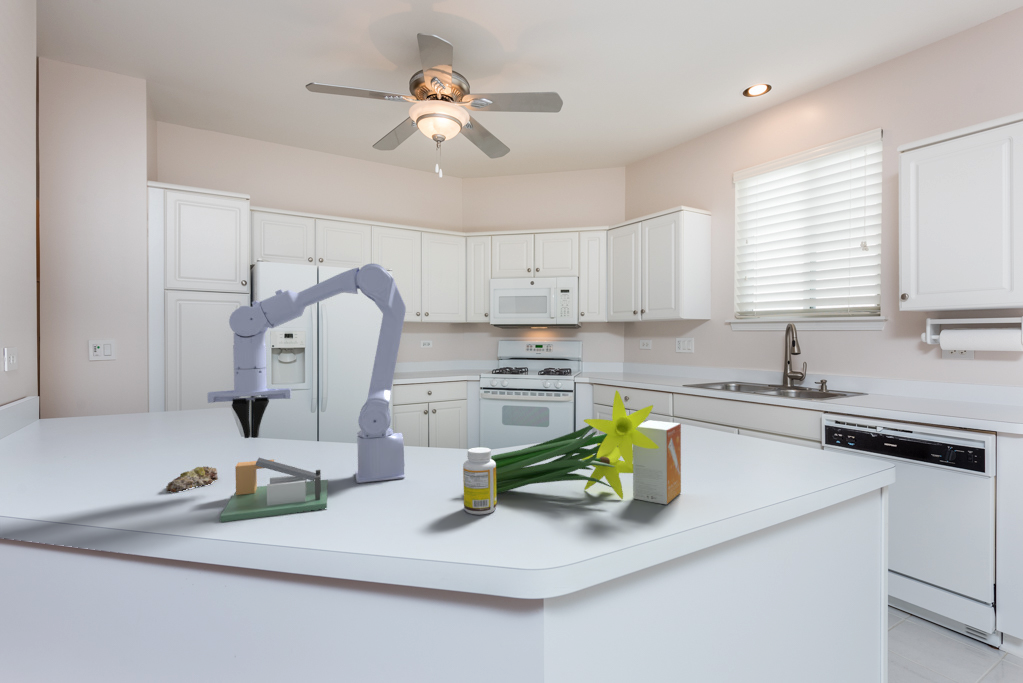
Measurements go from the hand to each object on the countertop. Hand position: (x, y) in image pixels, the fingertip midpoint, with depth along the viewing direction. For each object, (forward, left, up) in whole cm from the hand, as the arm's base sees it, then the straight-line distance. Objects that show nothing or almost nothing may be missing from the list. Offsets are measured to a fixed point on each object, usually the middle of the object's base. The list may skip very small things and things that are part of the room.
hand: (251, 436), depth 98 cm
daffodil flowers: (-54, +28, -10) cm, 61 cm away
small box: (-71, +34, -10) cm, 79 cm away
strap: (-8, +14, -4) cm, 16 cm away
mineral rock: (+12, -6, -10) cm, 17 cm away
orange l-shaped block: (-1, +7, -9) cm, 11 cm away
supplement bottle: (-39, +29, -10) cm, 49 cm away
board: (-6, +11, -10) cm, 16 cm away
